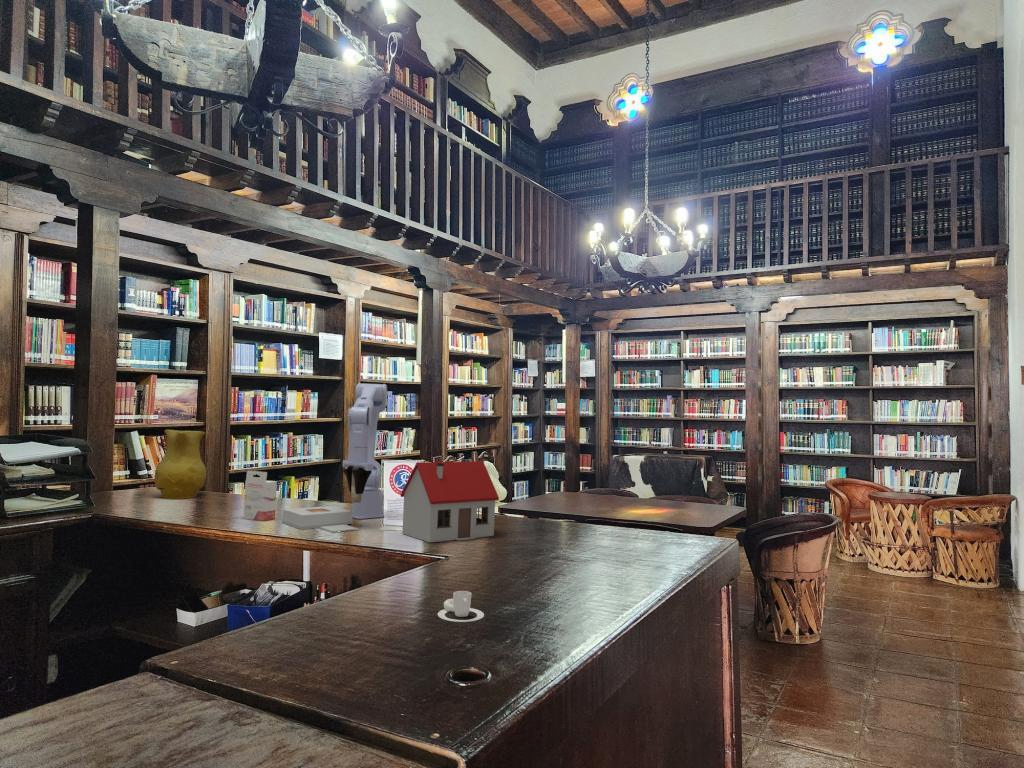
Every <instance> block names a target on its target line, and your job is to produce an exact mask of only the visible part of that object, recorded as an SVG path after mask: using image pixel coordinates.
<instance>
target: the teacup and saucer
mask: <svg viewBox="0 0 1024 768" xmlns="http://www.w3.org/2000/svg"><path fill="white" fill-rule="evenodd" d="M471 601H472V592H470V591H468V590H457V591H456V590H455V591H454V592H453V594H452V598H448V599H446V600H445V601H444V602H443V607H444V608H443V609H441V610H439V611H438V612H437V617H438V618H440V619H442V620H444V621H448V622H455V623H468V622H476V621H479V620H481V619H483V618H484V617H485V614H484V612H483V611H481V610H480V609H476V608H472V607H471V604H472V602H471ZM449 612H452V613H454V615H455V617H460V618H465V617H468V616H469V613H470V612H472V613H475V614H476V617H474V618H470V619H454V618H449V617H447V616H446V614H447V613H449Z"/></svg>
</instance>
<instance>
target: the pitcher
mask: <svg viewBox="0 0 1024 768" xmlns="http://www.w3.org/2000/svg"><path fill="white" fill-rule="evenodd" d="M164 433H165V435H166V439H167V444H166V450H165V453H164V455H163V458H162V459H161V460H160V462H159V463H158V464H157V466H156V468H155V471H154V479H153V480H154V484H155V485H154V486H155V488H156V489H157V490H158V491H160V493H161V495H160V496H159V498H164V499H168V500H169V499H170V500H183V499H193V498H197V497H198V494H197V493H198V491H200V490H201V489H202V488H203V487H204V485H206V484H205V481H206V479H207V468H206V466H205V463H204V462H203V460H202V458H201V453H200V447H201V446H200V445H201V444H200V443H201V442H200V441H202V440H201V439H202V438H203V436H205V435H206V432H205V431H201V430H176V429H175V430H174V429H165V430H164Z"/></svg>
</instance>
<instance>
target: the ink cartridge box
mask: <svg viewBox="0 0 1024 768" xmlns="http://www.w3.org/2000/svg"><path fill="white" fill-rule="evenodd" d="M256 475H257V476H259V477H256ZM245 476H246V478H245V484H244V486H245V487H244V503H243V504H244V505H243V519H244V520H250V521H251V520H252V521H253V520H254V521H259V522H260V521H261V522H265V521H271V520H275V519H276V510H277V509H276V508H277V507H276V506H277V490H278V489H277V487H278V484H277V483H278V481H277V480H276V481H274V480H267V477H268V472H267V471H257V470H256V471H255V470H247V471H246V475H245Z"/></svg>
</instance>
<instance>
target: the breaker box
mask: <svg viewBox="0 0 1024 768" xmlns="http://www.w3.org/2000/svg"><path fill="white" fill-rule="evenodd" d="M312 510H325V511H326V512H310V511H312ZM281 523H282V524H285V525H288V526H290V527H293V528H296V529H299V530H310V529H312V528H313V529H319V528H320V527H323V526H333V525H344V524H345V525H348V524H352V525H353V511H352V510H349V509H346V508H343V507H342V508H341V507H338V506H334V505H327V506H312V507H300V508H296V507H295V508H285V509H283V508H282V522H281ZM348 526H349V525H348Z"/></svg>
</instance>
